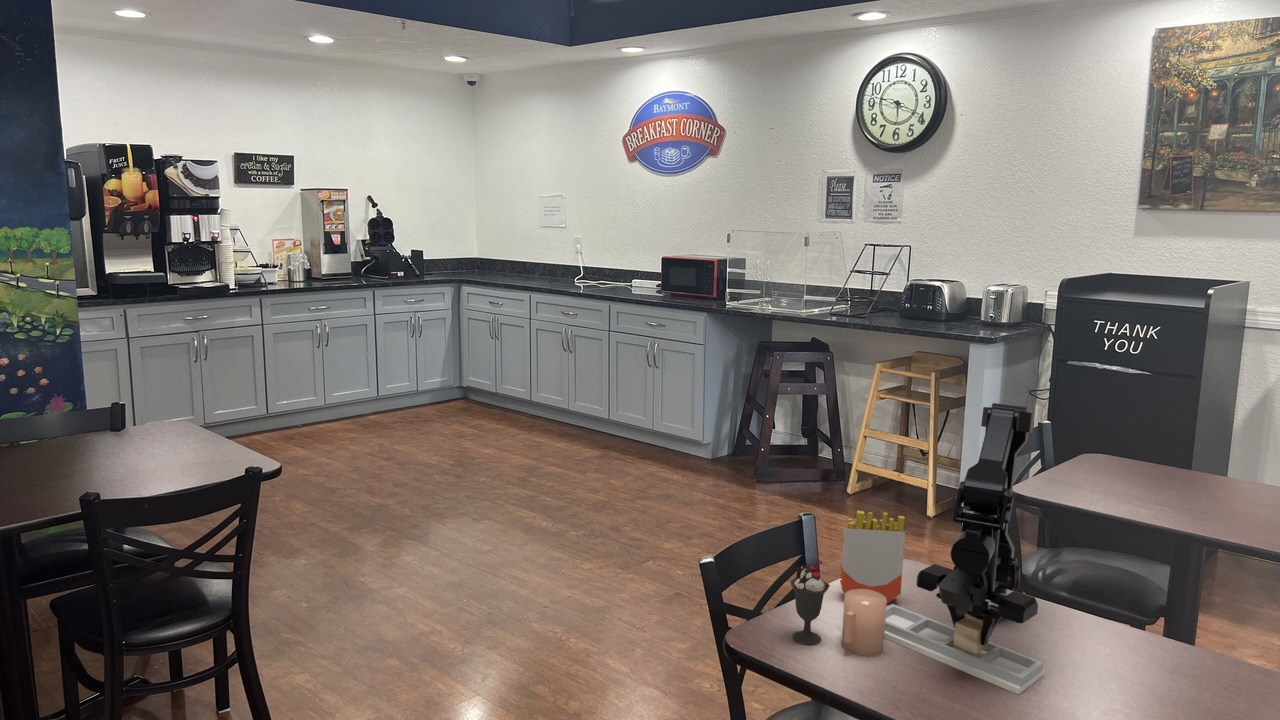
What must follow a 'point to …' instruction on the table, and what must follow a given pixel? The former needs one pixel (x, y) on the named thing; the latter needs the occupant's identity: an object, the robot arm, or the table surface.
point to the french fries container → (873, 555)
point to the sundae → (808, 601)
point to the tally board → (961, 651)
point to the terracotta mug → (864, 622)
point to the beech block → (969, 634)
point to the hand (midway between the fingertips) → (971, 639)
